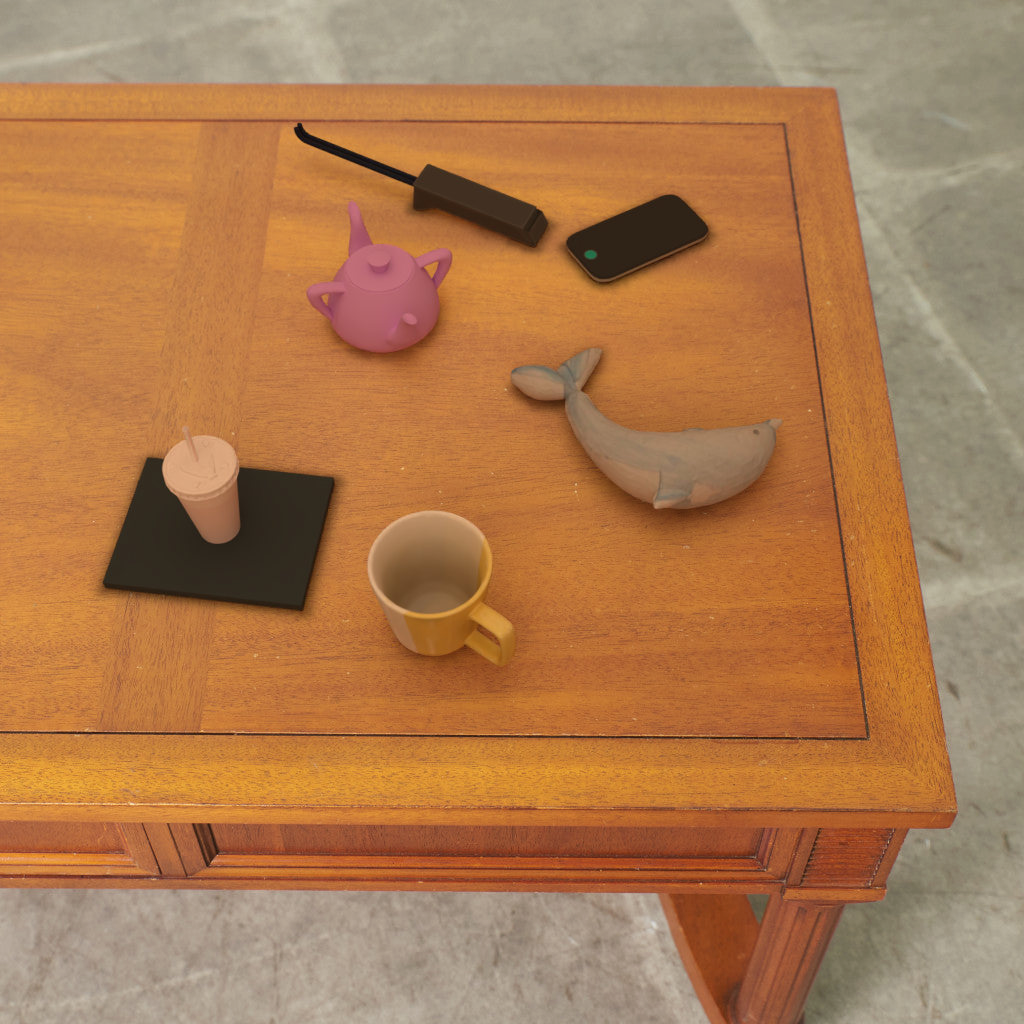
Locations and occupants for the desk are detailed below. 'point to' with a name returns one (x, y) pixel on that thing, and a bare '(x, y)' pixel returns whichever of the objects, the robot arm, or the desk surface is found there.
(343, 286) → the teapot
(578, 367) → the sculpture
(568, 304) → the desk surface
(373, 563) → the mug
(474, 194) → the hook tool
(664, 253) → the smartphone
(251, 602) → the mat
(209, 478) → the smoothie
